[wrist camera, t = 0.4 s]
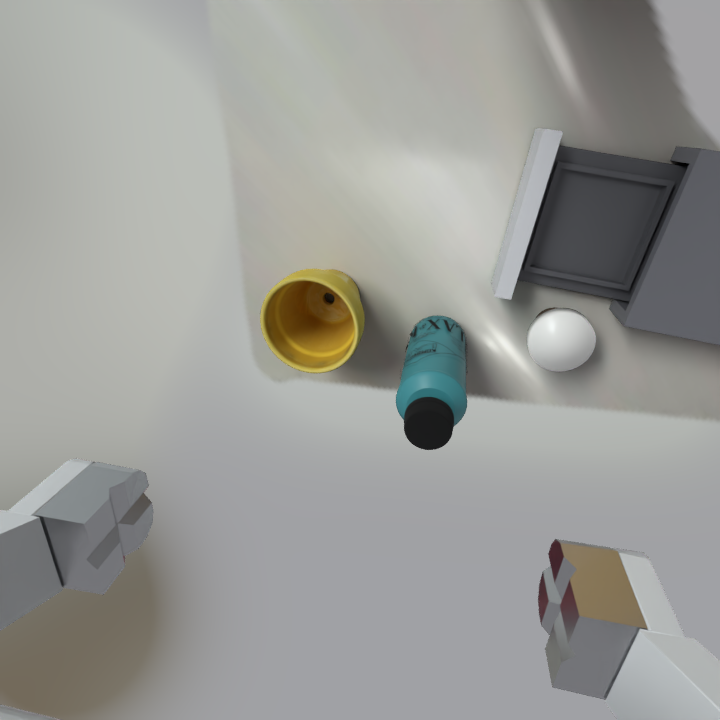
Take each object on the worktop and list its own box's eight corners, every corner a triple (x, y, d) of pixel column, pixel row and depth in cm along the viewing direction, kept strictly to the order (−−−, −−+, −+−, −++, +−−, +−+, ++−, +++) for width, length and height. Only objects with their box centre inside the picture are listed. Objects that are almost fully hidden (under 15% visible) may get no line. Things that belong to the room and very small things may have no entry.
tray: (491, 282, 52) (494, 296, 47) (535, 128, 45) (544, 128, 41) (664, 316, 50) (683, 334, 46) (737, 161, 43) (768, 165, 39)
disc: (537, 302, 49) (539, 307, 47) (601, 315, 48) (606, 320, 47) (518, 357, 52) (520, 364, 50) (578, 370, 51) (582, 377, 50)
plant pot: (274, 306, 58) (242, 338, 49) (315, 234, 53) (288, 255, 45) (345, 353, 59) (326, 391, 50) (392, 286, 54) (380, 316, 46)
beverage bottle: (478, 335, 55) (489, 434, 37) (436, 370, 58) (427, 478, 40) (438, 296, 54) (429, 380, 36) (397, 334, 57) (371, 429, 39)
